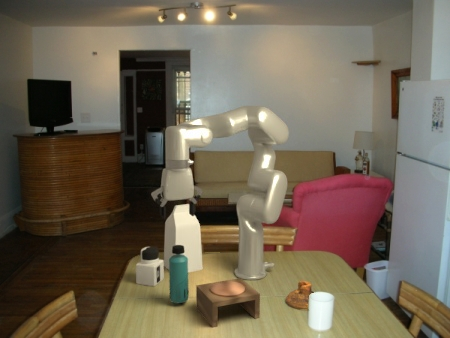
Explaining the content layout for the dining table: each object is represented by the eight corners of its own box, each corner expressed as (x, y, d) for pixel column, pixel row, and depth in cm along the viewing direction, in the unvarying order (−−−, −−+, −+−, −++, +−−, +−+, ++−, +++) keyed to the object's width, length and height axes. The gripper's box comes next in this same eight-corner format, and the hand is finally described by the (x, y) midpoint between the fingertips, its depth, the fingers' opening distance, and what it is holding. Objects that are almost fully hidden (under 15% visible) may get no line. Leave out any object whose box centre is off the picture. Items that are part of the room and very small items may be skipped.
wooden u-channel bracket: (240, 300, 163) (240, 276, 162) (259, 317, 151) (260, 292, 149) (196, 308, 157) (196, 283, 156) (212, 327, 144) (212, 300, 143)
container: (164, 279, 181) (163, 246, 179) (154, 286, 174) (154, 252, 172) (146, 276, 184) (145, 244, 182) (135, 284, 177) (135, 250, 175)
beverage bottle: (185, 308, 157) (185, 249, 154) (166, 306, 158) (165, 248, 155) (191, 300, 163) (190, 243, 160) (172, 298, 164) (171, 242, 161)
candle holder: (320, 313, 155) (321, 291, 154) (283, 308, 158) (284, 287, 157) (322, 298, 166) (323, 278, 165) (288, 294, 169) (289, 274, 168)
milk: (175, 275, 186) (174, 209, 182) (163, 265, 195) (162, 203, 191) (202, 269, 192) (202, 206, 187) (190, 260, 201) (189, 200, 197)
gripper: (198, 161, 160) (198, 211, 163) (148, 164, 153) (148, 216, 156) (206, 164, 153) (206, 216, 156) (154, 167, 146) (155, 221, 149)
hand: (177, 216), depth 156 cm, fingers open, 9 cm apart
